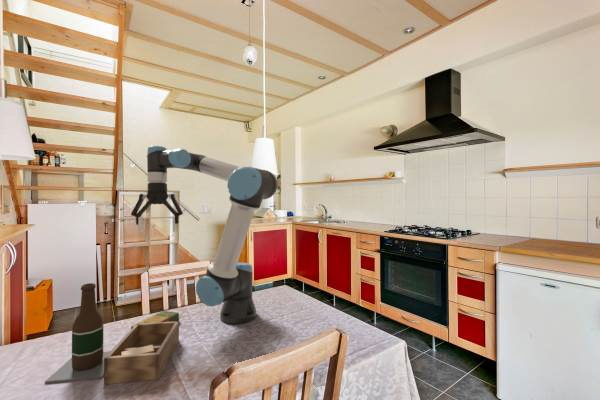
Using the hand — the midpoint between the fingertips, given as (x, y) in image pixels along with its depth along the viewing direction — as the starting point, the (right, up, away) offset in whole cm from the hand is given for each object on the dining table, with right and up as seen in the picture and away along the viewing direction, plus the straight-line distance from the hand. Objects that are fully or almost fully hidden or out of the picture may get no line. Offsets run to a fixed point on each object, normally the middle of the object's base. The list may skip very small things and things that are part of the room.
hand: (157, 232), depth 122 cm
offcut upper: (+14, -33, -40) cm, 54 cm away
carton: (+5, -37, -11) cm, 39 cm away
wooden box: (+13, -36, -33) cm, 51 cm away
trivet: (-3, -36, -37) cm, 52 cm away
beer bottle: (-3, -36, -37) cm, 51 cm away
